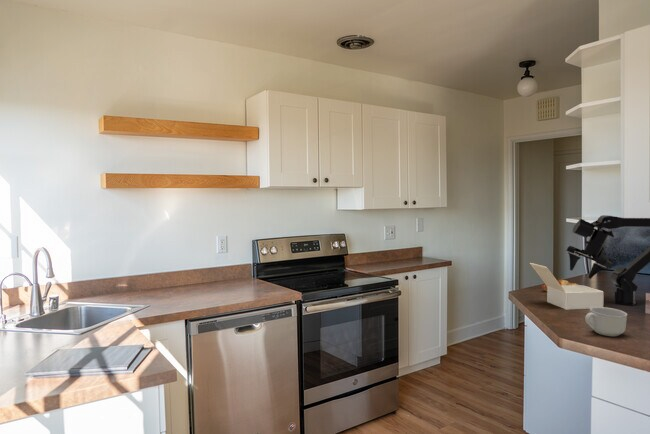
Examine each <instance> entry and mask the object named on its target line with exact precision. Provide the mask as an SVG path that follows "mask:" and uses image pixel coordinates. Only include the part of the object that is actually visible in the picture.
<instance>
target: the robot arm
mask: <svg viewBox="0 0 650 434" xmlns="http://www.w3.org/2000/svg"><path fill="white" fill-rule="evenodd" d="M572 227H573V228H572V233H573V234H576V235H578V236H581V237H583V238H585V239H587V238H588V237H590V238H589V239H588V240H586V241H585V244H586V245H585V248H584V249H580V248H577V247H575V246H572V245H569V246H568V247H567V248H566V250H565V251H566V252H567V254H568V257H569V270H570V271H573V270H574V269H575V267H576V264H577V262H578V261H579V260H580V259H582V258H581V257H583V258H585V259H586V258H587V259H589V260H590V261H593V262H594V263H592V267H591V269H590V271H589V274H588V277H587V278H588V279H592V278H593V277H595V276H596V275H597V274H598V273H599V272H601V271H603V270H607V269H612V267H613V262H612V261H610V260H608V259H607V258H608V256H607V255H606V254H605V252H604V249H605V248H604V245H605V243H606V241H607V239H608V237H611V238H614V237H615V235H614V233H613V231H612V229H617V228H623V227H624V228H625V227H638V228H639V227H645V228H646V227H647V228H648V227H650V217H621V216H620V217H618V216H614V215H605V214H604V215H600V216H599V217H598V218H597V219H596V220H595V221H593V222H589V221H587V220H585V219H582V218H579V219H578V221H577V222H576V223H575V224H574V225H573V226H572ZM580 256H581V257H580ZM648 264H650V246H649V247H648V248H647V249H645V250H644V251H643V252H642V253H640V255H638V256H637V257H636V258H635V259H634V260H632V261H631V262H630V263H628V264H627V265H626V266H621V265H618V266H617V267H616V269H614V270H612V271H611V274H610V281H611V283H613V285H614V286H615V288H616V290H615V292H614V304H618V305H626V306H634V305H635V304H637V302H636V292H637V290H638V286H637V285H636V283H634V280H635V279H636V276H637V275H638V273H639V272H640V271H641V270H643V269H644V268H645V267H646V266H648Z"/></svg>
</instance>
